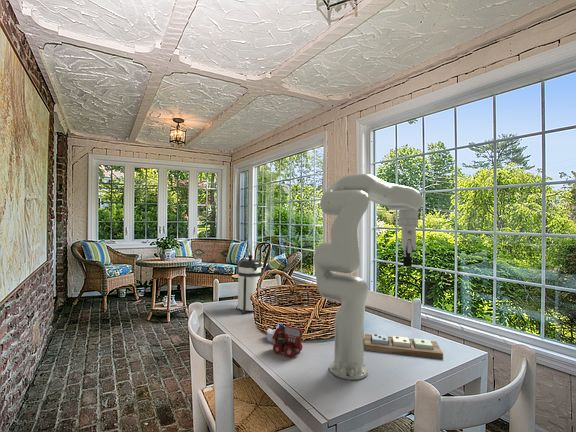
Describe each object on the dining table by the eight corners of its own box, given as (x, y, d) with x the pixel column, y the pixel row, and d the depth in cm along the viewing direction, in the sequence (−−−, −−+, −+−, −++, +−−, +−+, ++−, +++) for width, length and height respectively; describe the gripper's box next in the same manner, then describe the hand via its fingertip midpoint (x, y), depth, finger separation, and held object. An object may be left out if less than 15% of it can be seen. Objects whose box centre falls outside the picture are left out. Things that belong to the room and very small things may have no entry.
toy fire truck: (278, 346, 126) (279, 319, 126) (306, 353, 119) (306, 325, 119) (268, 352, 120) (268, 324, 120) (296, 360, 113) (297, 331, 113)
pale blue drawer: (388, 348, 124) (388, 340, 124) (372, 346, 126) (372, 338, 126) (387, 342, 130) (387, 334, 130) (371, 341, 131) (372, 333, 131)
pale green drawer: (432, 353, 120) (432, 344, 120) (415, 351, 122) (415, 343, 122) (429, 347, 126) (429, 339, 126) (413, 345, 128) (413, 337, 128)
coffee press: (268, 308, 177) (269, 254, 177) (255, 316, 162) (256, 257, 162) (240, 304, 183) (241, 252, 183) (225, 312, 168) (226, 255, 168)
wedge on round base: (300, 338, 134) (271, 333, 139) (300, 322, 134) (272, 318, 139) (293, 346, 126) (263, 341, 130) (294, 328, 126) (263, 324, 130)
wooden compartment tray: (443, 359, 117) (443, 353, 117) (364, 349, 123) (364, 344, 123) (436, 346, 128) (436, 341, 128) (364, 338, 135) (364, 333, 135)
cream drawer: (410, 351, 122) (410, 342, 122) (393, 349, 124) (393, 340, 124) (408, 345, 128) (408, 336, 128) (392, 343, 130) (392, 335, 130)
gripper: (420, 223, 127) (419, 269, 127) (415, 222, 141) (414, 264, 141) (400, 222, 129) (399, 268, 129) (397, 222, 143) (396, 263, 143)
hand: (407, 266), depth 135 cm, fingers closed
